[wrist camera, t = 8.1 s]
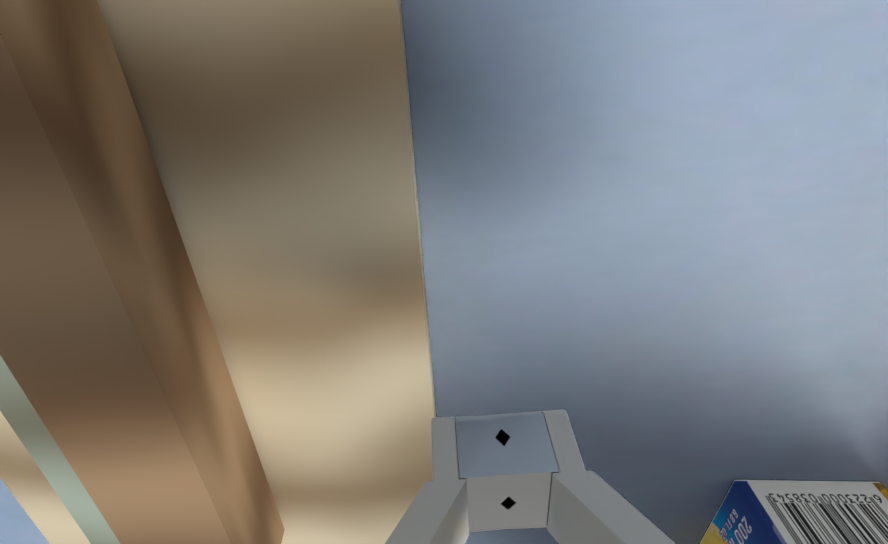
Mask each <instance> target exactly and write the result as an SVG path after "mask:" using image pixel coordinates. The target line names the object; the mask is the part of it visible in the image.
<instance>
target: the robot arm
mask: <svg viewBox="0 0 888 544" xmlns="http://www.w3.org/2000/svg"><path fill="white" fill-rule="evenodd" d="M431 439H432V481H428V482H425V484H424V485H423V487H422V488H421V490H420V491H419V493H418V494H417V496H416V497H415V499H414V500H413V502H412V503H411V505H410V506H409V508H408V509H407V511H406V512H405V514H404V515H403V517H402V518H401V520H400V521H399V523H398V524H397V526H396V527H395V529H394V530H393V532H392V533H391V535H390V536H389V538H388V539H387V541H386V542H385V544H465V543H466V541H467V539H468V537H469V533H472V532H482V531H493V530H503V529H522V528H547V530H548V531H549V533H550V534H551V535H552V536H553V538H554V539H555V540H556V541H557V542H558V544H676V543H675V542H673V541H672V540H671V539H670V538H669V537H668V536H667V535H665V534H664V533H663V532H662V531H661V530H660V529H659V528H657V527H656V526H655V525H654V524H653V523H652V522H651V521H650V520H648V519H647V518H646V517H645V516H644V515H643V514H642V513H640V512H639V511H638V510H637V509H636V508H635V507H634V506H632V505H631V504H630V503H629V502H628V501H627V500H626V499H625V498H623V497H622V496H621V495H620V494H619V493H618V492H617V491H615V490H614V489H613V488H612V487H611V486H610V485H609V484H607V483H606V482H605V481H604V480H603V479H602V478H601V477H599V476H598V475H597V474H596V473H595V472H594V471H586V469H585V466H584V463H583V460H582V457H581V454H580V451H579V448H578V445H577V442H576V439H575V436H574V432H573V429H572V426H571V423H570V420H569V417H568V414H567V412H566V411H565V410H564V409H560V410H546V411H542V412H541V411H529V412H516V413H503V414H498V415H474V416H455V420H454V417H434V418H432V421H431Z"/></svg>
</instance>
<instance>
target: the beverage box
mask: <svg viewBox="0 0 888 544" xmlns="http://www.w3.org/2000/svg"><path fill="white" fill-rule="evenodd" d="M699 544H888V490H887V489H886V488H885V487H884V486H883V485H882V484H881V483H880V482H861V481H794V480H734V481H733V483H732V485H731V487H730V489H729V491H728V492H727V494H726V496H725V498H724V500H723V502H722V503H721V505H720V507H719V509H718V511H717V512H716V514H715V516H714V518H713V520H712V522H711V523H710V525H709V527H708V529H707V531H706V532H705V534H704V536H703V538H702V540H701V542H700V543H699Z"/></svg>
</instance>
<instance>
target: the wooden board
mask: <svg viewBox="0 0 888 544" xmlns="http://www.w3.org/2000/svg"><path fill="white" fill-rule="evenodd" d="M98 3H99V6H100V9H101V12H102V15H103V17H104V20H105V23H106V26H107V29H108V32H109V34H110V37H111V40H112V43H113V46H114V48H115V51H116V54H117V57H118V60H119V63H120V65H121V68H122V71H123V74H124V77H125V80H126V82H127V85H128V88H129V91H130V94H131V97H132V99H133V102H134V105H135V108H136V111H137V113H138V116H139V119H140V122H141V125H142V128H143V130H144V133H145V136H146V139H147V142H148V145H149V147H150V150H151V153H152V156H153V159H154V162H155V164H156V167H157V170H158V173H159V176H160V178H161V181H162V184H163V187H164V190H165V193H166V195H167V198H168V201H169V204H170V207H171V210H172V212H173V215H174V218H175V221H176V224H177V227H178V229H179V232H180V235H181V238H182V241H183V243H184V246H185V249H186V252H187V255H188V258H189V260H190V263H191V266H192V269H193V272H194V275H195V277H196V280H197V283H198V286H199V289H200V292H201V294H202V297H203V300H204V303H205V306H206V308H207V311H208V314H209V317H210V320H211V323H212V325H213V328H214V331H215V334H216V337H217V340H218V342H219V345H220V348H221V351H222V354H223V357H224V359H225V362H226V365H227V368H228V371H229V373H230V376H231V379H232V382H233V385H234V388H235V390H236V393H237V396H238V399H239V402H240V405H241V407H242V410H243V413H244V416H245V419H246V422H247V424H248V427H249V430H250V433H251V436H252V438H253V441H254V444H255V447H256V450H257V453H258V455H259V458H260V461H261V464H262V467H263V470H264V472H265V475H266V478H267V481H268V484H269V487H270V489H271V492H272V495H273V498H274V501H275V503H276V506H277V509H278V512H279V515H280V518H281V520H282V523H283V526H284V529H285V530H284V534H283V539H282V543H281V544H385V542H386V541H387V539H388V538H389V536H390V535H391V533H392V532H393V530H394V529H395V527H396V526H397V524H398V523H399V521H400V520H401V518H402V517H403V515H404V514H405V512H406V511H407V509H408V508H409V506H410V505H411V503H412V502H413V500H414V499H415V497H416V496H417V494H418V493H419V491H420V490H421V488H422V487H423V485H424V484H425V482H428V481H432V439H431V421H432V418H434V417H436V408H435V396H434V384H433V372H432V361H431V349H430V337H429V325H428V313H427V302H426V290H425V278H424V266H423V255H422V243H421V231H420V219H419V207H418V196H417V184H416V172H415V160H414V148H413V137H412V125H411V113H410V101H409V90H408V78H407V66H406V54H405V42H404V31H403V19H402V7H401V0H98ZM0 478H1V479H2V481H3V482H4V483H5V485H6V486H7V487H8V489H9V490H10V491H11V493H12V494H13V495H14V497H15V498H16V499H17V501H18V502H19V503H20V505H21V506H22V507H23V509H24V510H25V511H26V513H27V514H28V515H29V517H30V518H31V519H32V521H33V522H34V523H35V525H36V526H37V527H38V529H39V530H40V531H41V533H42V534H43V535H44V537H45V538H46V539H47V541H48V542H49V543H50V544H120V542H119V541H118V539H117V538H116V536H115V534H114V533H113V531H112V530H111V528H110V527H109V525H108V523H107V522H106V520H105V519H104V517H103V516H102V514H101V512H100V511H99V509H98V508H97V506H96V505H95V503H94V501H93V500H92V498H91V497H90V495H89V494H88V492H87V490H86V489H85V487H84V486H83V484H82V483H81V481H80V479H79V478H78V476H77V475H76V473H75V472H74V470H73V469H72V467H71V465H70V464H69V462H68V461H67V459H66V458H65V456H64V454H63V453H62V451H61V450H60V448H59V447H58V445H57V443H56V442H55V440H54V439H53V437H52V436H51V434H50V432H49V431H48V429H47V428H46V426H45V425H44V423H43V421H42V420H41V418H40V417H39V415H38V414H37V412H36V410H35V409H34V407H33V406H32V404H31V403H30V401H29V400H28V398H27V396H26V395H25V393H24V392H23V390H22V389H21V387H20V385H19V384H18V382H17V381H16V379H15V378H14V376H13V374H12V373H11V371H10V370H9V368H8V367H7V365H6V363H5V362H4V360H3V359H2V357H1V356H0Z"/></svg>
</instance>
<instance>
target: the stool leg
mask: <svg viewBox="0 0 888 544" xmlns="http://www.w3.org/2000/svg"><path fill="white" fill-rule="evenodd" d="M0 356H1V357H2V359H3V360H4V362H5V363H6V365H7V367H8V368H9V370H10V371H11V373H12V374H13V376H14V378H15V379H16V381H17V382H18V384H19V385H20V387H21V389H22V390H23V392H24V393H25V395H26V396H27V398H28V400H29V401H30V403H31V404H32V406H33V407H34V409H35V410H36V412H37V414H38V415H39V417H40V418H41V420H42V421H43V423H44V425H45V426H46V428H47V429H48V431H49V432H50V434H51V436H52V437H53V439H54V440H55V442H56V443H57V445H58V447H59V448H60V450H61V451H62V453H63V454H64V456H65V458H66V459H67V461H68V462H69V464H70V465H71V467H72V469H73V470H74V472H75V473H76V475H77V476H78V478H79V479H80V481H81V483H82V484H83V486H84V487H85V489H86V490H87V492H88V494H89V495H90V497H91V498H92V500H93V501H94V503H95V505H96V506H97V508H98V509H99V511H100V512H101V514H102V516H103V517H104V519H105V520H106V522H107V523H108V525H109V527H110V528H111V530H112V531H113V533H114V534H115V536H116V538H117V539H118V541H119V542H120V544H281V543H282V539H283V534H284V530H285V529H284V526H283V523H282V520H281V518H280V515H279V512H278V509H277V506H276V503H275V501H274V498H273V495H272V492H271V489H270V487H269V484H268V481H267V478H266V475H265V472H264V470H263V467H262V464H261V461H260V458H259V455H258V453H257V450H256V447H255V444H254V441H253V438H252V436H251V433H250V430H249V427H248V424H247V422H246V419H245V416H244V413H243V410H242V407H241V405H240V402H239V399H238V396H237V393H236V390H235V388H234V385H233V382H232V379H231V376H230V373H229V371H228V368H227V365H226V362H225V359H224V357H223V354H222V351H221V348H220V345H219V342H218V340H217V337H216V334H215V331H214V328H213V325H212V323H211V320H210V317H209V314H208V311H207V308H206V306H205V303H204V300H203V297H202V294H201V292H200V289H199V286H198V283H197V280H196V277H195V275H194V272H193V269H192V266H191V263H190V260H189V258H188V255H187V252H186V249H185V246H184V243H183V241H182V238H181V235H180V232H179V229H178V227H177V224H176V221H175V218H174V215H173V212H172V210H171V207H170V204H169V201H168V198H167V195H166V193H165V190H164V187H163V184H162V181H161V178H160V176H159V173H158V170H157V167H156V164H155V162H154V159H153V156H152V153H151V150H150V147H149V145H148V142H147V139H146V136H145V133H144V130H143V128H142V125H141V122H140V119H139V116H138V113H137V111H136V108H135V105H134V102H133V99H132V97H131V94H130V91H129V88H128V85H127V82H126V80H125V77H124V74H123V71H122V68H121V65H120V63H119V60H118V57H117V54H116V51H115V48H114V46H113V43H112V40H111V37H110V34H109V32H108V29H107V26H106V23H105V20H104V17H103V15H102V12H101V9H100V6H99V3H98V0H0Z"/></svg>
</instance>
